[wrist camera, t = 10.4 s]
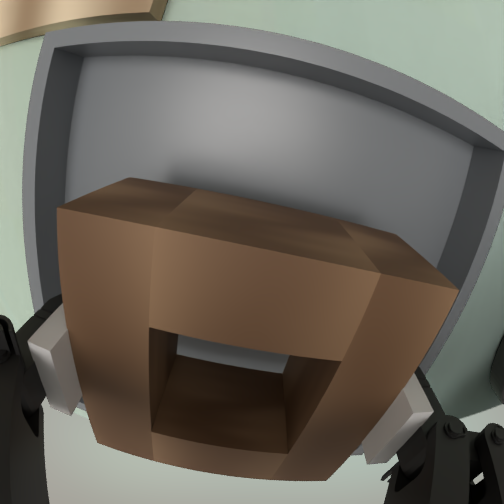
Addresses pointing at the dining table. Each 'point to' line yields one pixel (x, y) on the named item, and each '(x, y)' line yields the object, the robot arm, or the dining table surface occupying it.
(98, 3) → the stake stand
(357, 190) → the tray
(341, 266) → the collar
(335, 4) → the dining table surface
